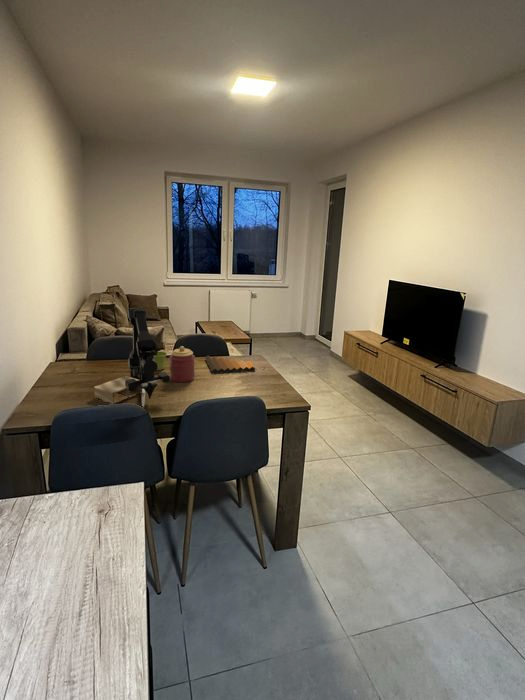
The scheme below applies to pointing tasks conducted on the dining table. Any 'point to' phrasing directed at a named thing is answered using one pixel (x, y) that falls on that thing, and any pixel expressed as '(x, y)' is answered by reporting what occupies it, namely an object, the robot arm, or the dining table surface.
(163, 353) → the plant pot
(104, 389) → the cabinet
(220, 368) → the scalloped wooden trivet
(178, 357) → the canister
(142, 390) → the white flat slab piece
